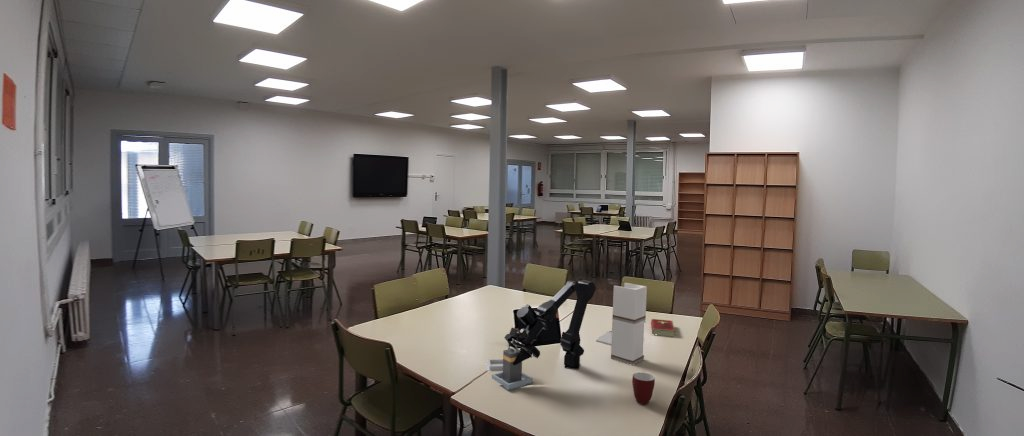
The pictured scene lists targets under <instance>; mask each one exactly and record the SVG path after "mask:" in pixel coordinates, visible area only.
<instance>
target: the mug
mask: <svg viewBox="0 0 1024 436" xmlns="http://www.w3.org/2000/svg"><path fill="white" fill-rule="evenodd" d="M655 380H656V378H655V376H654V375H653V374H650V373H646V372H635V373H633V374H632V380H631V381H632V388H633V389H632V391H633V396H634V398H635V401H636V402H637V403H638V404H639V405H648V404H649V403H650V401H651V399H652V398H653V394H654V393H653V392H654V389H655Z"/></svg>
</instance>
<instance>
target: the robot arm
mask: <svg viewBox="0 0 1024 436" xmlns="http://www.w3.org/2000/svg"><path fill="white" fill-rule="evenodd" d="M596 289H597V286H596V284H595V283H594V282H593V281H589V280H586V279H580V280H571V279H569V280H568V281H566V283H565V284H564V286H563V287H562V288H561V289H559V291H557V292H556V294H555V295H554V296H552V297H551V299H549V300H547V301H545V302H543V303H541V304H540V305H539V306H537V307H536V308H534V309H533V308H532V306H531V305H530V304H526V305H525V306H522V307H520V308H519V309H518V310H517V312H516V316H517V318H518V320H520V321H521V322H522V323H523V324H524V325H525V327H526V328H521V329H517V328H515V327H511V329H510V330H509V333H506V334H505V336H504V337H503V338H504V340H505V341H507V344H508V348H507V350H509V347H510V346H511V347H513V348H516V349H518V347H520V348H519V350H520V353H519V354H518V356H517V358H516V359H515V361H514V363H513V365H517V364H518V363H520V362H522V363H523V362H524V361H525V360H528V359H530V358H533V357H534V358H536V359H538V358H539V357H540V356H541V351H540V350H539V349H538V348H537V346H535V345H534V344H533V343H534V341H536V342H537V341H538V338H537V337H538V336H539V334H540V333H541V332H542V330H545V331H547V330H548V326H547V322H549V323H550V322H552V321H553V319H554V318H555V317H556V315H557V313H558V309H559V308H561V306H562V305H563V304H564V303H565V302H566V301H567V300H568V299H569V298H570V297H571V296H572V295H573V294H574V293H575V294H576V301H575V302H576V303H575V305H574V309H573V311H572V314H571V315H572V316H571V319H570V322H569V326H568V329H567V330H566V331H562V333H561V337H560V339H559V341H560V343H559V344H560V346H561V348H562V352H565V354H564V357H563V365H564V369H565V368H566V369H572V370H580V367H581V357H582V355H584V353H585V349H584V348H583V347H582V346H581V336H580V330H581V328H582V323H583V320H584V316H585V314H586V310H587V306H588V302H589V301H590V300H591V299H592V298H593V297H594V295H595V292H596ZM542 320H543V321H545V322H543V321H542Z"/></svg>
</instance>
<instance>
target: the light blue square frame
mask: <svg viewBox="0 0 1024 436" xmlns="http://www.w3.org/2000/svg"><path fill="white" fill-rule="evenodd" d="M491 379H492V380H494V381H496V382H497V383H498V384H499V386H500V387H502V388H503V389H505V390H506V391H508V392H509V391H512V390H516V389H517V390H518V389H521V388H525V387H528V386H530V385H532V384H531V383H533V377H532V376H530V375H528V374H526V373H524V372H522V379H521V380H520V381H517V382H513V383H508V382H506V381H505V380H503V371H500V372H495V373H493V374H491Z"/></svg>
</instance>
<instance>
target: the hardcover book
mask: <svg viewBox="0 0 1024 436" xmlns="http://www.w3.org/2000/svg"><path fill="white" fill-rule="evenodd" d="M650 325H651V327H650V328H651V335H652V334H657V335H656V336H659V335H665V336H664V337H670V336H674V337H675V332H676V329H675V326H674V322H673V320H667V319H658V318H657V319H656V318H651V320H650Z"/></svg>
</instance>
